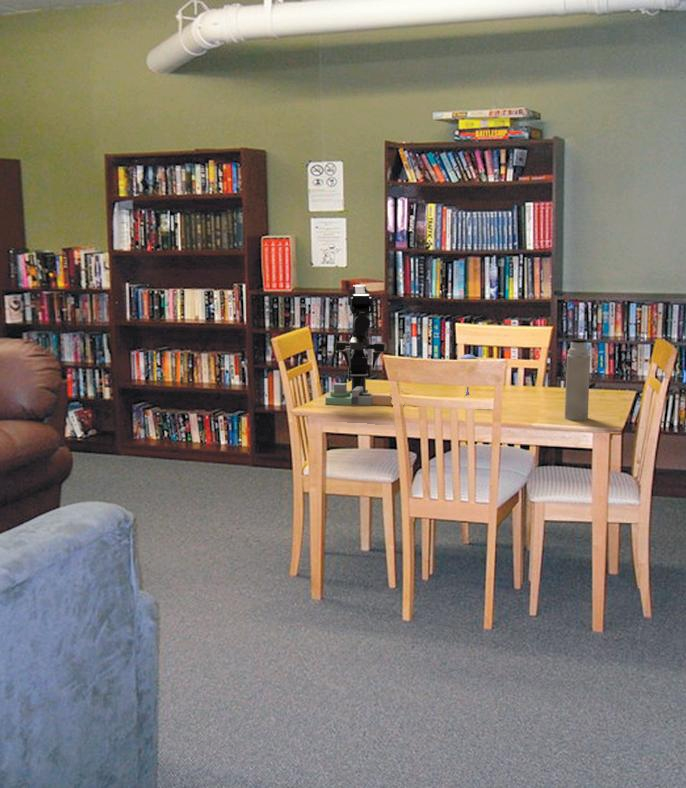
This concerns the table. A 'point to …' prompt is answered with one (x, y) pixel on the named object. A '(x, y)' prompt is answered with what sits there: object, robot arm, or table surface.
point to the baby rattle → (468, 356)
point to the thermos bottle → (577, 381)
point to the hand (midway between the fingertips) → (361, 369)
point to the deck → (348, 396)
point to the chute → (381, 398)
